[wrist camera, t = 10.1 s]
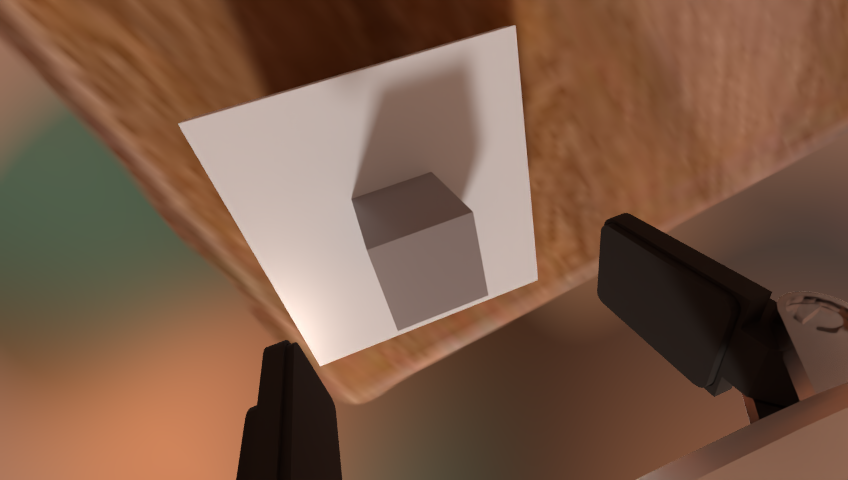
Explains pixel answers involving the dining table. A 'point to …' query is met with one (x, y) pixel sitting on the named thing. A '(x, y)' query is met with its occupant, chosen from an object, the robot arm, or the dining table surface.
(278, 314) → the dining table surface
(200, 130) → the lid
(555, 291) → the dining table surface
